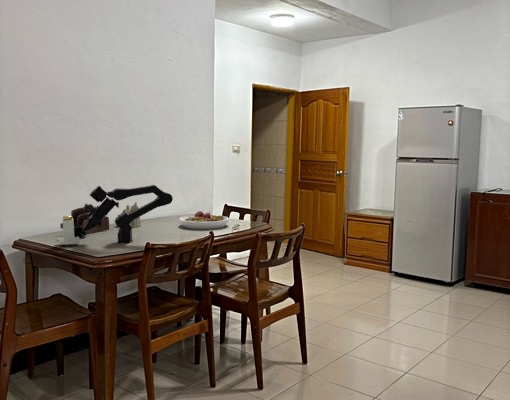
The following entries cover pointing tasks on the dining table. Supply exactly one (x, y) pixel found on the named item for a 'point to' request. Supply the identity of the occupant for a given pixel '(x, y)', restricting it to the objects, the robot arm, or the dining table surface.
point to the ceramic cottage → (135, 222)
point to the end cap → (79, 231)
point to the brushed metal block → (68, 228)
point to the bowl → (203, 221)
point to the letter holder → (82, 218)
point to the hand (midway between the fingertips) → (83, 231)
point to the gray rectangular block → (69, 241)
